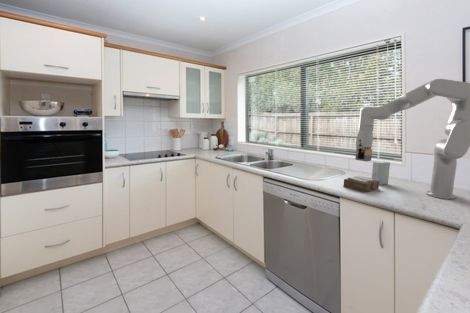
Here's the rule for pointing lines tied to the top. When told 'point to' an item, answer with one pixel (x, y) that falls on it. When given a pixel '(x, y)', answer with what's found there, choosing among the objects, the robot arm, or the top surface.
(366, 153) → the block
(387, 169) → the skincare box
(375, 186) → the walnut stand
